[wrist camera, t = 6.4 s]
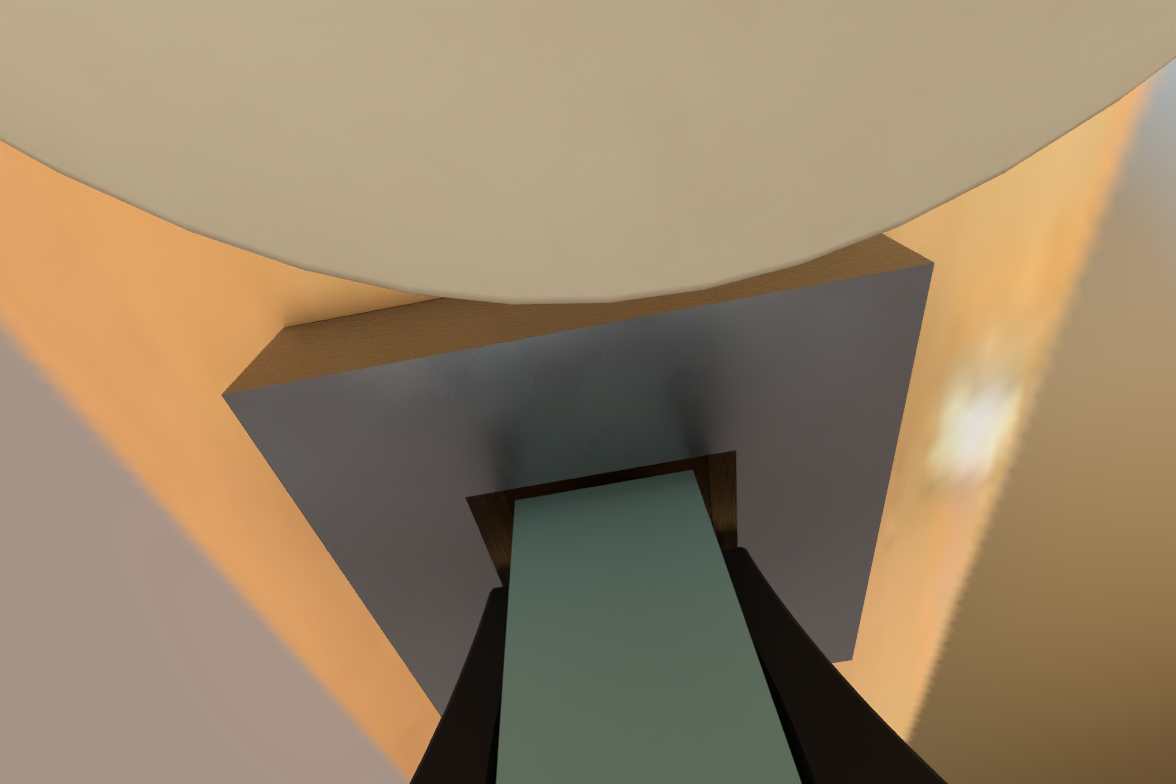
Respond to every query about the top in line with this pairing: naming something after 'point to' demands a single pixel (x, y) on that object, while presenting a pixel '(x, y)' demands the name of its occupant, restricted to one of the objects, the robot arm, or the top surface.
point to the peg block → (630, 646)
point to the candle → (556, 125)
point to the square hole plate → (595, 432)
